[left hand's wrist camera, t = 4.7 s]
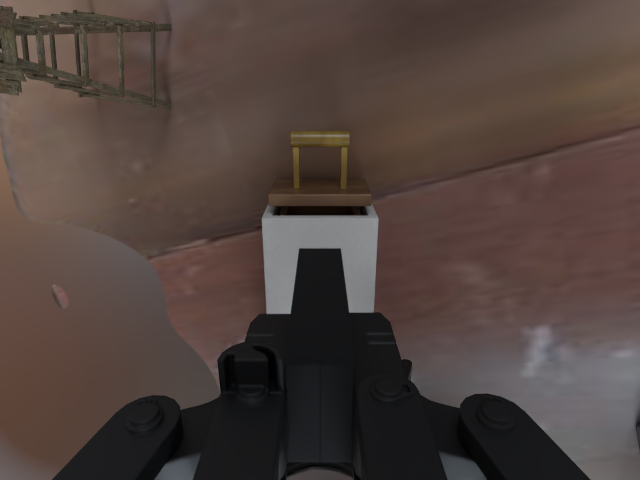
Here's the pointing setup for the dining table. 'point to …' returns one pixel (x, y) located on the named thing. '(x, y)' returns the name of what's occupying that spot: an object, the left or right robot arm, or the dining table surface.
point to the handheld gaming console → (638, 433)
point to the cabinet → (319, 232)
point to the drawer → (320, 182)
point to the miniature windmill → (9, 65)
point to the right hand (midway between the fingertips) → (320, 330)
